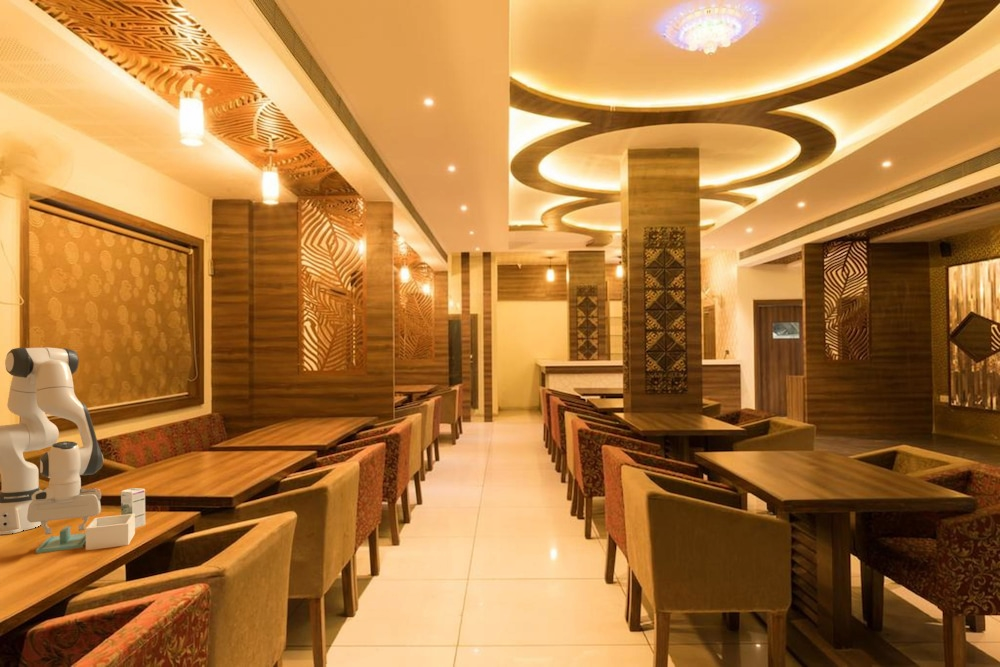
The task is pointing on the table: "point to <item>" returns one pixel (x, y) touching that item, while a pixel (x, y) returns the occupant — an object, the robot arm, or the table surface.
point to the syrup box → (134, 504)
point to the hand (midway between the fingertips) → (65, 531)
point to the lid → (63, 541)
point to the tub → (110, 531)
